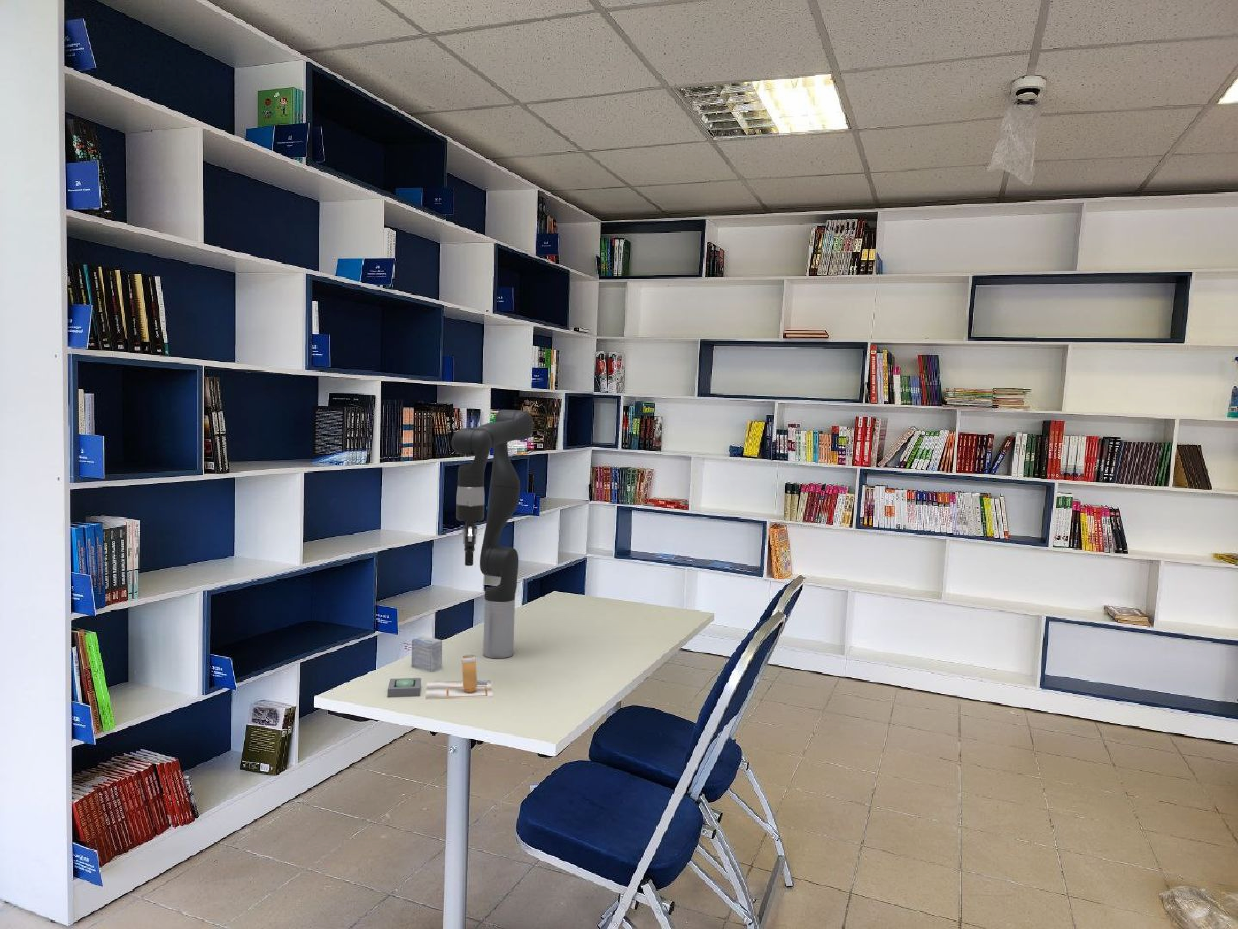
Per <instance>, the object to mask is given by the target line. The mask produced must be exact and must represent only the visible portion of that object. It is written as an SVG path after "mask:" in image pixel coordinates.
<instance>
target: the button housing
mask: <svg viewBox="0 0 1238 929" xmlns="http://www.w3.org/2000/svg"><path fill="white" fill-rule="evenodd" d="M400 679H412V680H413V681H414V686H413V687H396V681H397V680H400ZM421 688H422V677H408V678H407V677H405V678H390V679H389V682H388V688H387V698H404V697H405V698H406V697H407V698H409V697H420V696H421V691H422V690H421Z"/></svg>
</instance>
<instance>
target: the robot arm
mask: <svg viewBox="0 0 1238 929" xmlns="http://www.w3.org/2000/svg"><path fill="white" fill-rule="evenodd" d="M495 415H496V416H495V420H494V421H491V422H487V423H485V424H481V425H479V426H474V427H473V426H472V427H465V428H460V429H458V430H456V432H455V433H454V434H453V436H452V438H451V446H452V449H453V451H454V452H455V453H456V454H458V455H461V456H472V457H473V456H474V458H473V460H472V462H470V463H465V464H461V465H459V466H458V470H457V490H456V505H455V506H456V511H455V518H456V520H457V521H459V522H465V525H462V537H463V538H462V539H463V540H462V541H463V542H462V544H463V546H464V566H466V567H472V566H473V565H474V553H475V550H476V548H475V545H476V544H477V535H478V526H477V525H475V523H476V522H481V521H483V520H484V519H485V496H486V495H485V494H486V493H485V486H484V485H485V470H486V466H487V462H488V458H489V455H490V452H491V449H493V457H492V468H491V477H490V482H489V491H488V492H489V493H488V503H487V504H488V505H487V515H486V521H485V522H486V523H485V529H484V535H483V539H482V545H481V549H480V556H479V568H480V572H481V574H483V575H484V576H489V577H497V578H500V581H499V584H498V585H493V586H490V587H488V588H486V589H485V590H484V603H483V604H484V607H483V608H484V609H483V643H482V644H483V646H482V647H483V648H482V651H483V652H482V655H483V656H484V657H485V658H491V659H505V658H509V657H512V656H513V655H514V645H515V613H516V612H515V611H516V608H515V606H516V592H517V586H518V585H517V584H518V573H519V572H518V571H519V554H518V551H517V549H515V548H514V547H509V546H501V545H500V546H499V540H500V538H501V537H500V536H501V532H502V531H503V528H504V527H505V525H506V523H508V521H509V519H510V518H512V516H513V515H514V513H515V511H516V510H517V507H518V505H519V502H520V491H521V481H520V478H519V476H518V472H516V470H515V467H514V465H513V464H512V462H511V458H510V456H509V450H508V449H509V448H508V443H509V442H513V441H524V440H527V439H529V438H530V436H531V435H532V433H533V429H534V419H533V416H532V415H531V413H530V412H528V411H525V410H519V409H518V410H516V409H500V410H498V411H497V413H496V414H495Z"/></svg>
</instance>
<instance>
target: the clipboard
mask: <svg viewBox="0 0 1238 929" xmlns="http://www.w3.org/2000/svg"><path fill="white" fill-rule="evenodd" d="M491 681H492V680H491V679H482V680H480V679H479V680H478V679H477V687H476V688H475V691H474V692H465V689H464V688H463V680H449V681H427V682H426V690H425V700H444V699H445V700H447V699H448V700H449V699H450V700H451V699H474V698H493V695H494V694H493V690H492V689H493V688H492V683H491Z"/></svg>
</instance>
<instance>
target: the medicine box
mask: <svg viewBox="0 0 1238 929" xmlns="http://www.w3.org/2000/svg"><path fill="white" fill-rule="evenodd" d="M411 668H414V669H419V670H423V671H426V672H430V673H433V672H436V671H439V670H441V669H443V640H442V639H438V638H434V637H429V636H424V635H421V636H417V637H414V638H411Z"/></svg>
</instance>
